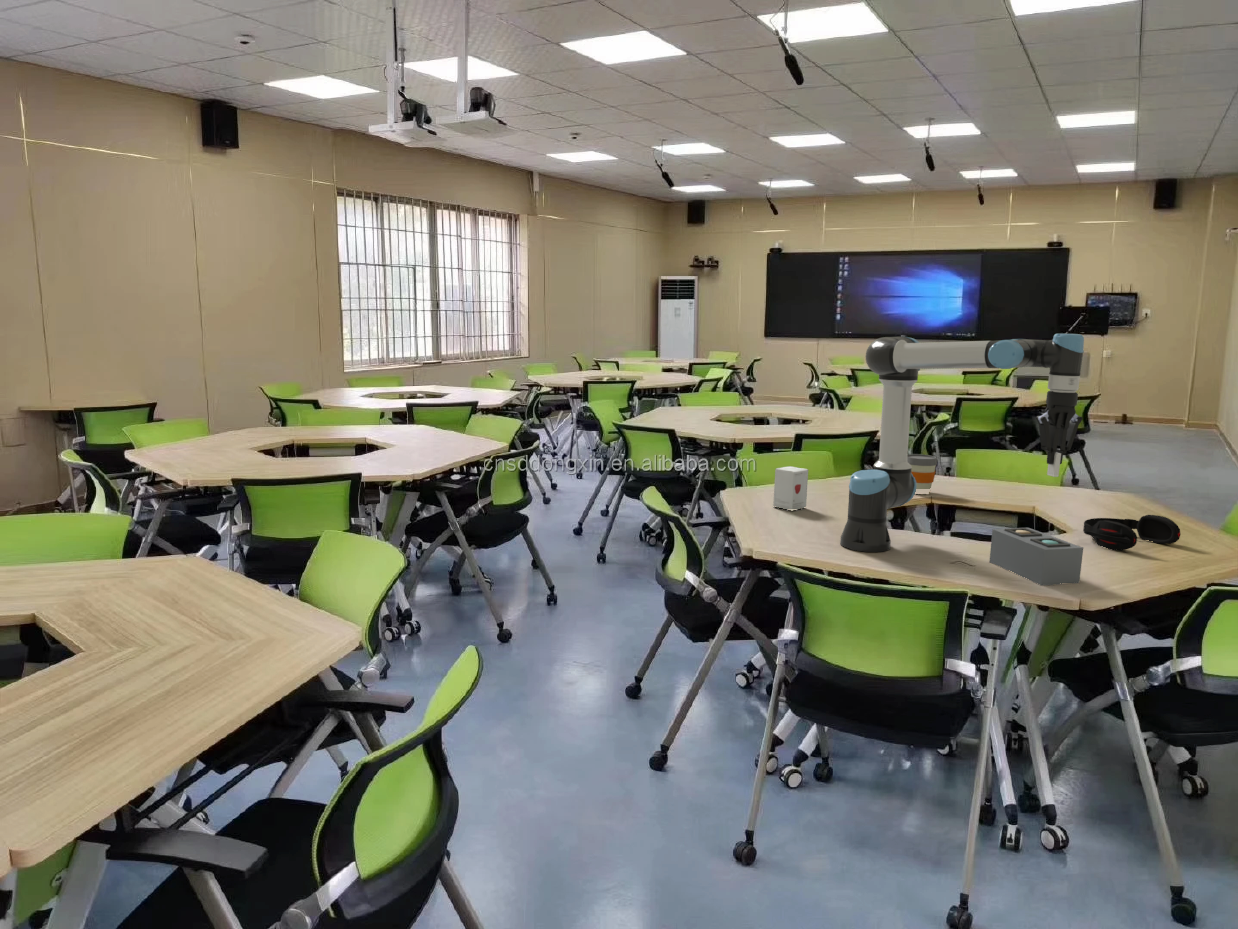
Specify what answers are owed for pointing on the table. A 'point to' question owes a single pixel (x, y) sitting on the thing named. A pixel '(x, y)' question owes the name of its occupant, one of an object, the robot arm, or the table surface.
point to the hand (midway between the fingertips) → (1052, 475)
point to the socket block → (1036, 556)
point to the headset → (1131, 531)
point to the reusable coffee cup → (923, 469)
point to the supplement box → (790, 487)
